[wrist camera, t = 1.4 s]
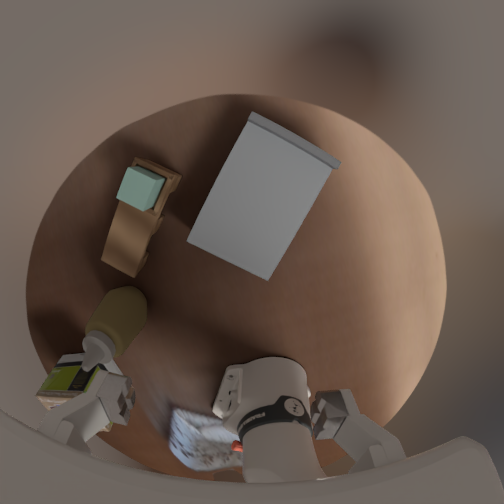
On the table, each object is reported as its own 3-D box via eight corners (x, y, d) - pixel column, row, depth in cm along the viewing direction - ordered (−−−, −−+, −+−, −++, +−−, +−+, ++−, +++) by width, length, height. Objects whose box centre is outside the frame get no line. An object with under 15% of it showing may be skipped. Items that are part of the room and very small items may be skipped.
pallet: (143, 267, 41) (132, 280, 36) (113, 250, 40) (98, 261, 35) (183, 173, 37) (174, 175, 32) (148, 157, 36) (134, 157, 31)
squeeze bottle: (107, 279, 41) (49, 338, 24) (148, 278, 41) (100, 344, 24) (118, 319, 44) (74, 386, 27) (158, 320, 44) (122, 395, 27)
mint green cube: (153, 206, 34) (143, 211, 30) (128, 193, 33) (116, 197, 29) (165, 178, 32) (156, 180, 29) (140, 166, 32) (128, 167, 28)
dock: (265, 267, 41) (269, 287, 35) (193, 231, 39) (183, 245, 33) (325, 162, 36) (341, 162, 30) (250, 120, 34) (252, 111, 28)
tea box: (85, 385, 50) (61, 427, 36) (62, 353, 47) (32, 394, 33) (131, 383, 49) (109, 434, 35) (107, 348, 46) (77, 398, 32)
